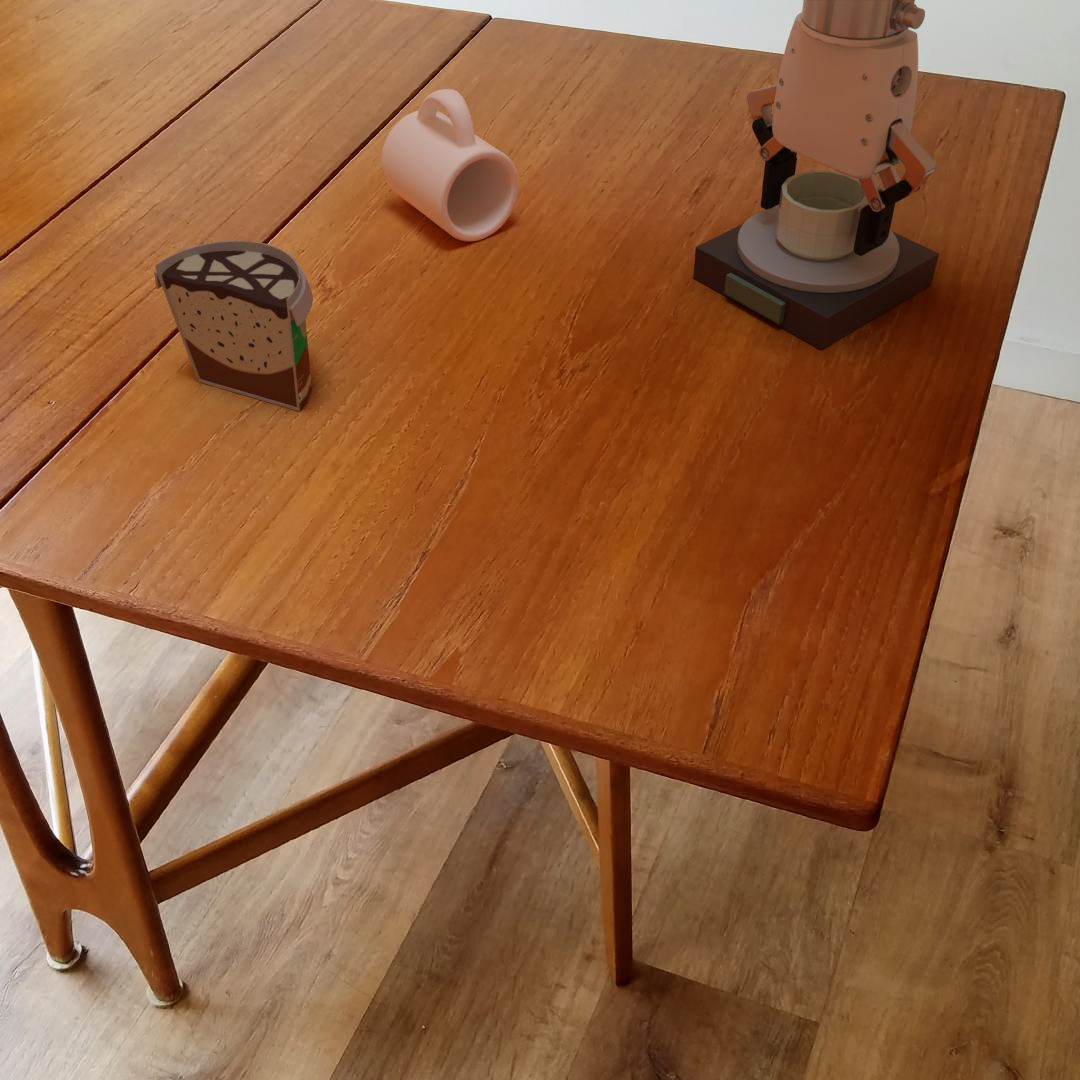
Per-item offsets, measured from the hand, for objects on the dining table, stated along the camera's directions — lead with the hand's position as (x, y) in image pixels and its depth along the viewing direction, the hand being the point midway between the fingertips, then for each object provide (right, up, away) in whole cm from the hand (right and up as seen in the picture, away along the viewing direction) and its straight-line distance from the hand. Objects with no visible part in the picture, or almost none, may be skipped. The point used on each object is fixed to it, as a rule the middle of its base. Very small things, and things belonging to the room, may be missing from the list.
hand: (821, 225), depth 93 cm
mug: (-31, +4, +13) cm, 34 cm away
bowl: (0, -1, +1) cm, 2 cm away
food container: (-44, -13, -4) cm, 46 cm away
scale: (0, -4, +4) cm, 5 cm away
